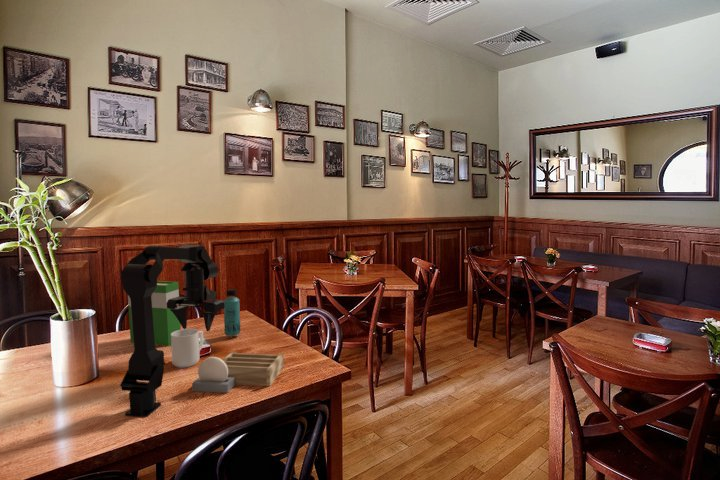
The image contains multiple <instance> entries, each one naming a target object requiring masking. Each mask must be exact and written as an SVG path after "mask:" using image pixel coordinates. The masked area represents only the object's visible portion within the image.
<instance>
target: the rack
mask: <svg viewBox="0 0 720 480" xmlns="http://www.w3.org/2000/svg"><path fill="white" fill-rule="evenodd" d="M284 359H285V358H284V353H283V352H280V353H279V354H274V353H270V354H269V353H267V354H266V353H247V352H246V353H242V352H236V351H235V350H234V351H231V352H230V353H229V354H227V356H225V357H224V358H222V360H223V361H224V362H225V363H226V365H227V367H228V377H235V385H239V386H243V385H244V386H256V387H257V386H260V387H261V386H262V387H263V386H264V387H271V386H272V384H273V383H274V381H275V380H276V379H277V377H278V376H279V375H280V373H281V372H282V371H283V369H284V368H285V365H284V364H285V363H284Z"/></svg>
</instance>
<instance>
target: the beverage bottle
mask: <svg viewBox="0 0 720 480" xmlns="http://www.w3.org/2000/svg"><path fill="white" fill-rule="evenodd" d="M225 294H226V296H228V297H226V298H225V299H224V300H223V301H224V304H225V308H224V311H223V315H224V317H223V321H224V322H223V324H224V334H225V336H229V337H230V336H233V337H234V336H237V335H239V334H241V310H240V309H241V308H240V306H241V305H240V301H241V300H240V298H238V297H237V295H238V292H237V289H236V288H234V289H232V288H231V289H227V290H226V293H225Z"/></svg>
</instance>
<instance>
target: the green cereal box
mask: <svg viewBox="0 0 720 480" xmlns="http://www.w3.org/2000/svg"><path fill="white" fill-rule="evenodd" d="M179 290H180V289H179V281H165V280H164V281H163V280H157V287H156V288H155V290H154V292H153V294H152V296H151V299H152V313H153V327H154V340H155V346H165V347H166V346H167V347H169V346H171V333H172V332H174V331H177V330H181V329H182V328H181V327H182V326H181V324H180V322H179V321H178V319H177V318H176V316H175V315H174V313H173V312H172V311H170V308H167V301H168V300H169V299H172V298H175V297H180V293H179V292H180V291H179ZM127 302H128V319H129V320H128V321H129V336H130V337H129V338H130V343H131V344H134V339H133V326H132V313H131V300H130V297H129V296H128V295H127Z"/></svg>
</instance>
